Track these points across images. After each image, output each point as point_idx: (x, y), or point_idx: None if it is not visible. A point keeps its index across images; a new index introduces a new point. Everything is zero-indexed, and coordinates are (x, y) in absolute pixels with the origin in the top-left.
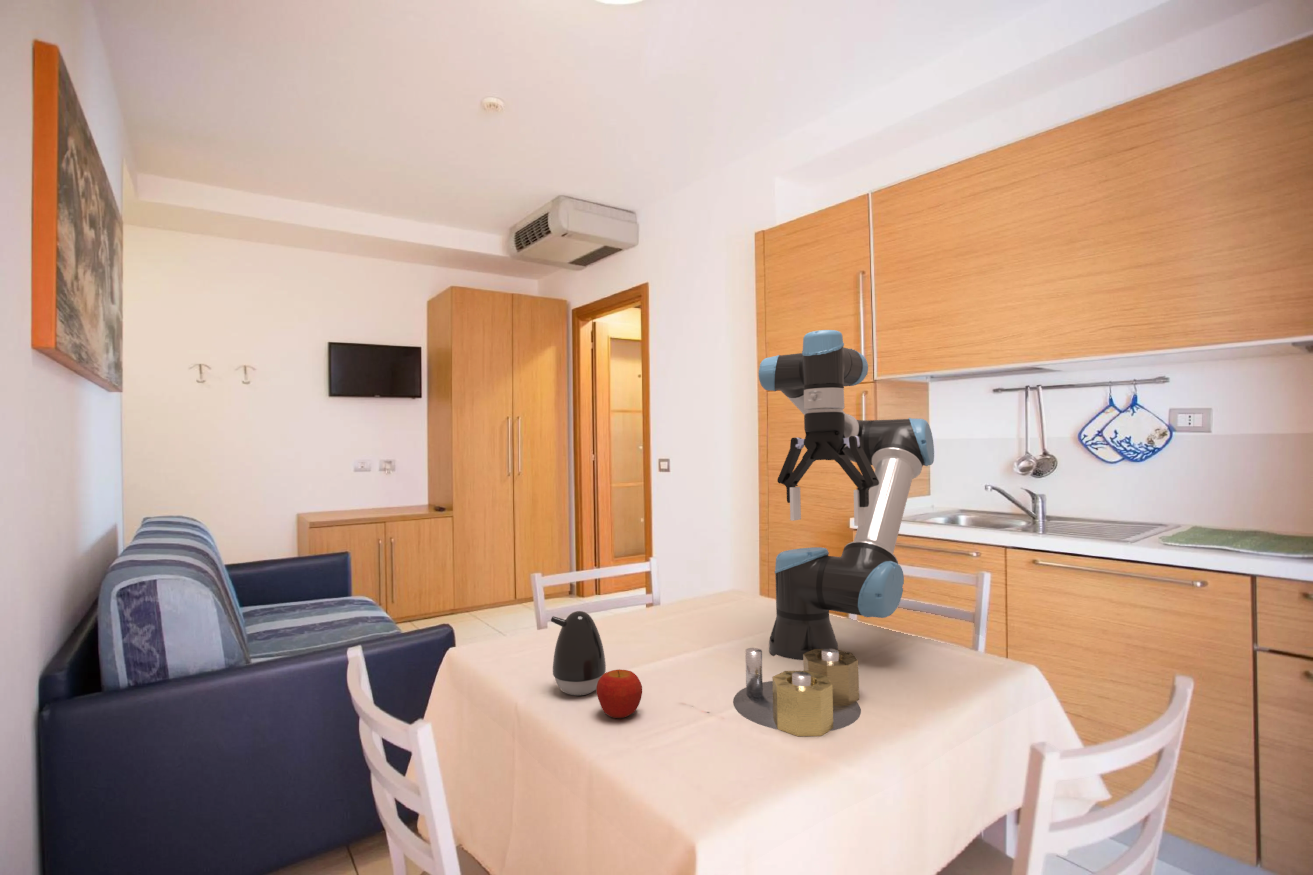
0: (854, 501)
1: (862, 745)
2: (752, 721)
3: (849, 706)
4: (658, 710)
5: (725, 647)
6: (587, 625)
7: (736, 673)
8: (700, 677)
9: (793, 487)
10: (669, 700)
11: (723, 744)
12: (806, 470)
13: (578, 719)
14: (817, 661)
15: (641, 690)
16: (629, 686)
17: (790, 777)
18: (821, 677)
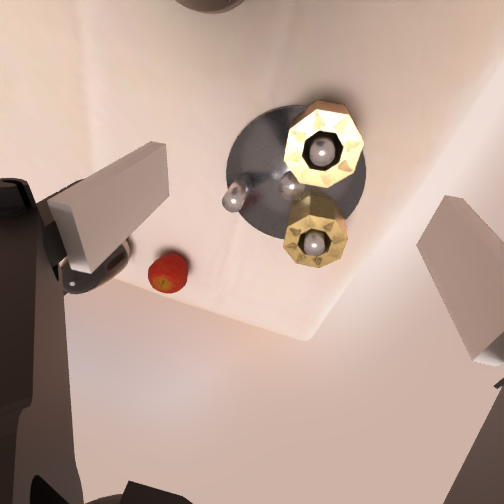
0: (451, 312)
1: (374, 223)
2: (273, 236)
3: None
4: (192, 243)
5: (97, 11)
6: (89, 285)
7: (185, 119)
8: None
9: (81, 259)
10: (184, 223)
11: (269, 268)
12: (39, 312)
13: None
14: (311, 178)
15: (181, 268)
16: (180, 286)
17: (330, 285)
18: (331, 226)
